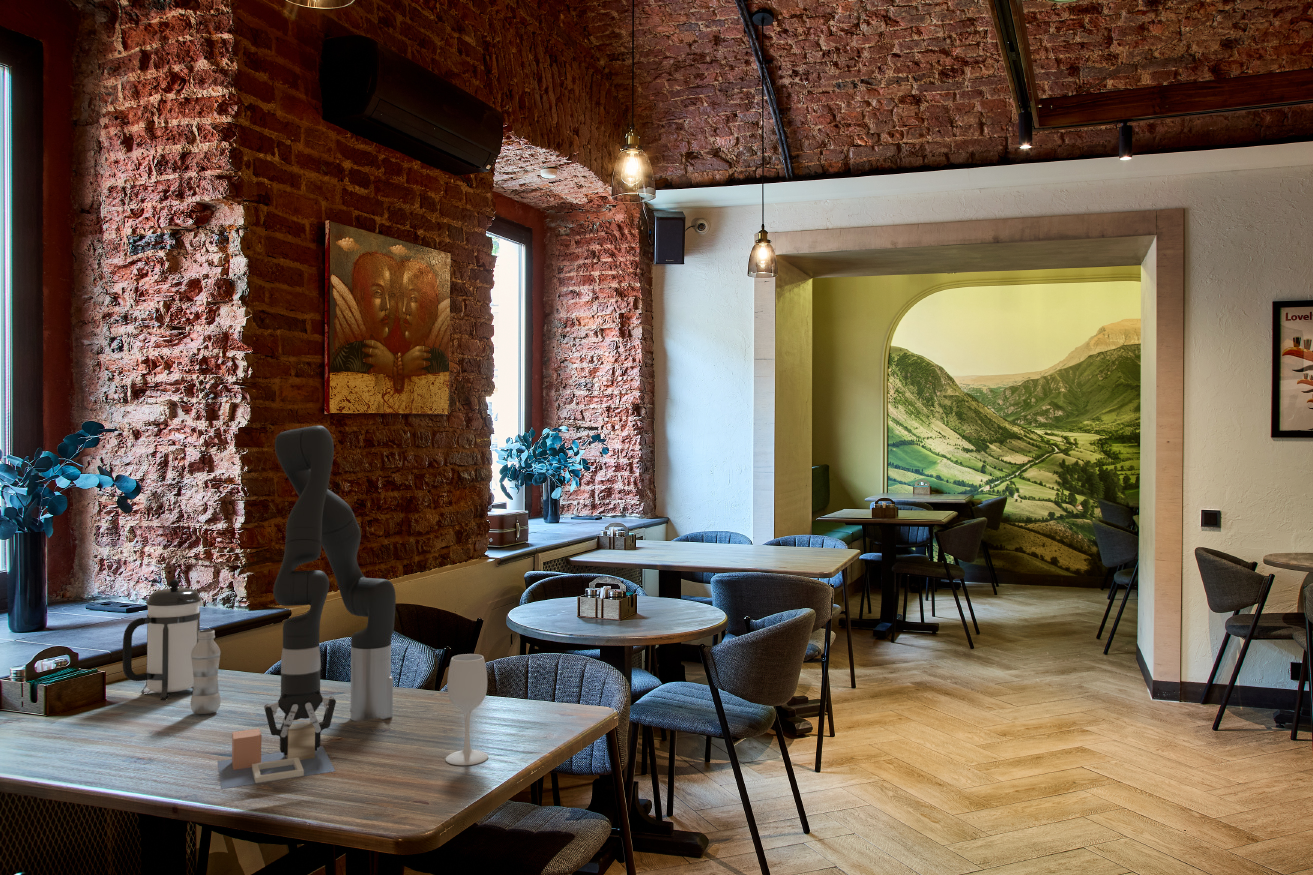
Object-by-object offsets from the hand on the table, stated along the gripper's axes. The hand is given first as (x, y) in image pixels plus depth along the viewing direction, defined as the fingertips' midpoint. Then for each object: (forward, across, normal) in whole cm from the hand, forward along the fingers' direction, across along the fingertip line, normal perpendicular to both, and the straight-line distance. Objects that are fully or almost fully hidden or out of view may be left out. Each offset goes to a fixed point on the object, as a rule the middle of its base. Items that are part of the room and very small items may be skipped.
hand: (299, 751), depth 184 cm
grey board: (+2, +5, +4) cm, 7 cm away
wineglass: (+3, -31, +13) cm, 34 cm away
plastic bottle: (+3, +16, -49) cm, 52 cm away
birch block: (+1, 0, 0) cm, 1 cm away
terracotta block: (+1, +10, 0) cm, 10 cm away
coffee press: (+3, +24, -73) cm, 77 cm away
